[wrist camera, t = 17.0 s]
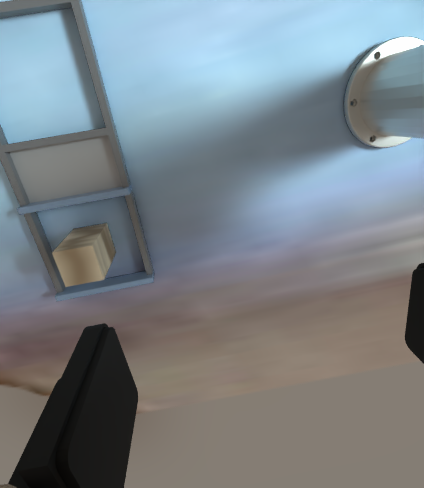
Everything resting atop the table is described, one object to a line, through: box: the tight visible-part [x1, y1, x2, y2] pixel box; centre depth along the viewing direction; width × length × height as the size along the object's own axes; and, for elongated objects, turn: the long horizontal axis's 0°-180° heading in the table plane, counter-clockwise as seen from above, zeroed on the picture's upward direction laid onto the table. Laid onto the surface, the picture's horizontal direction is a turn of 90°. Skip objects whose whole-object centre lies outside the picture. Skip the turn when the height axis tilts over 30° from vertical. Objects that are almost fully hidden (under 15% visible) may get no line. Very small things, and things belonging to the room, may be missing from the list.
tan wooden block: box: [52, 223, 116, 287], centre depth 38 cm, size 4×4×8 cm
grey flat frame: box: [0, 0, 154, 301], centre depth 37 cm, size 14×34×2 cm, turn 9°
